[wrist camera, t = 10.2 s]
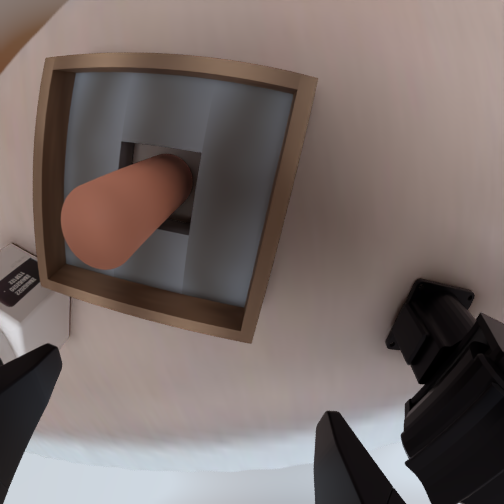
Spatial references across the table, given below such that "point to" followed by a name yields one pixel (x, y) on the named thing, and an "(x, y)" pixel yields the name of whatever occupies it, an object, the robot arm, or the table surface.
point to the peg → (123, 209)
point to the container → (28, 307)
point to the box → (207, 188)
